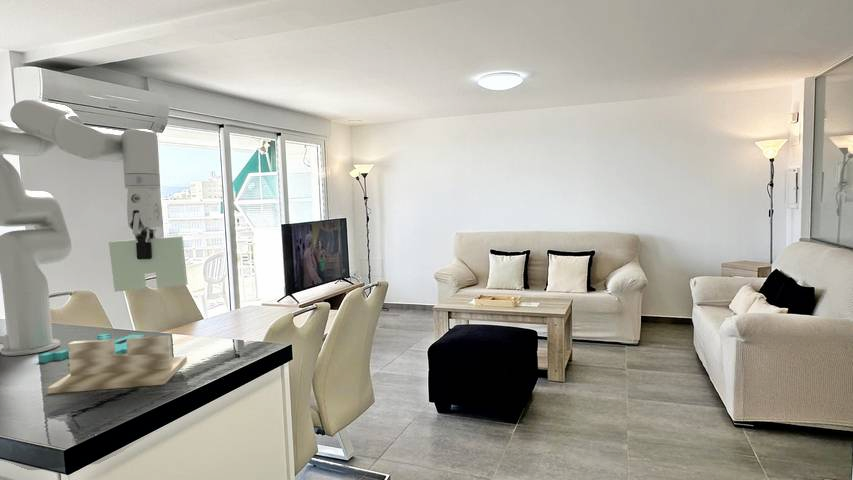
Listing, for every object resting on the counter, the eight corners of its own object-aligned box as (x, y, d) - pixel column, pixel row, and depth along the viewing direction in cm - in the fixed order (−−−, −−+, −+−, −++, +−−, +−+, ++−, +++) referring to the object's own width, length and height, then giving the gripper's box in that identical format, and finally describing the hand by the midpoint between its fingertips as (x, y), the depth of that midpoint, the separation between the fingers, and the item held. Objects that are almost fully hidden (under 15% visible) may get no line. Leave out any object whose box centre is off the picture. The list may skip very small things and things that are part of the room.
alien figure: (39, 364, 127) (110, 366, 123) (38, 355, 127) (109, 357, 123) (104, 341, 147) (167, 343, 143) (103, 333, 147) (166, 335, 143)
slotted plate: (114, 291, 126) (108, 241, 124) (118, 290, 128) (112, 241, 126) (185, 285, 128) (179, 236, 127) (187, 284, 130) (182, 236, 129)
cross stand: (47, 393, 105) (44, 353, 104) (86, 368, 121) (83, 333, 120) (164, 384, 109) (161, 345, 108) (186, 361, 124) (184, 327, 124)
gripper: (147, 181, 118) (151, 262, 120) (169, 182, 134) (173, 254, 135) (111, 181, 117) (116, 263, 119) (138, 183, 133) (142, 255, 134)
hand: (146, 257), depth 127 cm, fingers closed on slotted plate, 2 cm apart
